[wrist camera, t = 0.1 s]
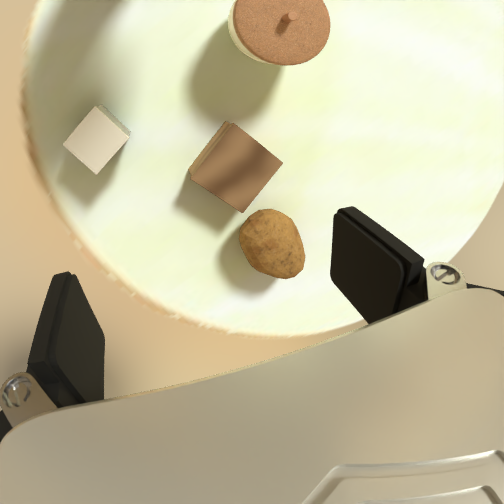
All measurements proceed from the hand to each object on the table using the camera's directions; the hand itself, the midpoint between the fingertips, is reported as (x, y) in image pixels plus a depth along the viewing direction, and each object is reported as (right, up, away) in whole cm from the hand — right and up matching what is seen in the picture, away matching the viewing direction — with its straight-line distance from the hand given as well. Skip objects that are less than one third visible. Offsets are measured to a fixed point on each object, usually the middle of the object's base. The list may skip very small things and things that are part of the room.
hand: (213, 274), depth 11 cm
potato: (+3, +4, +45) cm, 45 cm away
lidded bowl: (+3, +33, +27) cm, 43 cm away
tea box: (-2, +14, +36) cm, 39 cm away
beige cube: (-20, +17, +28) cm, 38 cm away
